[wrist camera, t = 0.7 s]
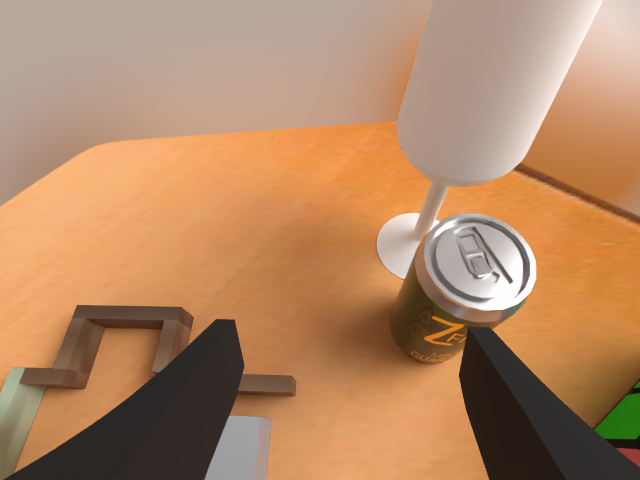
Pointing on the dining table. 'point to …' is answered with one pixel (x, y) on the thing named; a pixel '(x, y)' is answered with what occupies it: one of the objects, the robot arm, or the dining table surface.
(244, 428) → the block
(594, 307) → the dining table surface
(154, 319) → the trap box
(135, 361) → the dining table surface
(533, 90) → the champagne flute
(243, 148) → the dining table surface
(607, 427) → the puzzle cube
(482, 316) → the beer can
